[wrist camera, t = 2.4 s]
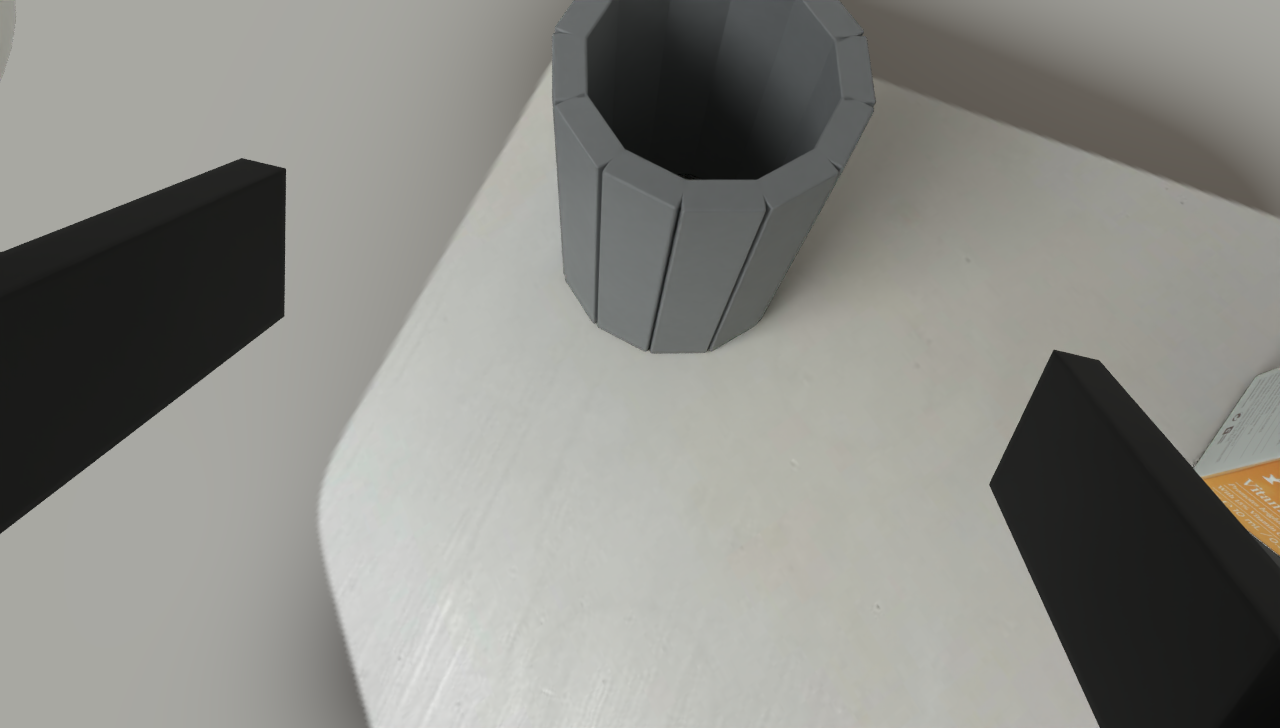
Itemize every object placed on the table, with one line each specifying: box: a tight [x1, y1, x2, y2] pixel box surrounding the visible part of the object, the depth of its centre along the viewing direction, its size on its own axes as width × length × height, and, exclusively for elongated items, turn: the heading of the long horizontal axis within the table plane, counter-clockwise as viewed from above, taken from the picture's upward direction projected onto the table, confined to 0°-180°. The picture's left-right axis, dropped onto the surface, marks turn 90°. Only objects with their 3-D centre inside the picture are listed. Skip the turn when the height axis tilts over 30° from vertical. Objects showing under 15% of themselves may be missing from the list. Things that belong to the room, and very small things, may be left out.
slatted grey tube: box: [552, 0, 876, 353], centre depth 30 cm, size 9×9×12 cm
